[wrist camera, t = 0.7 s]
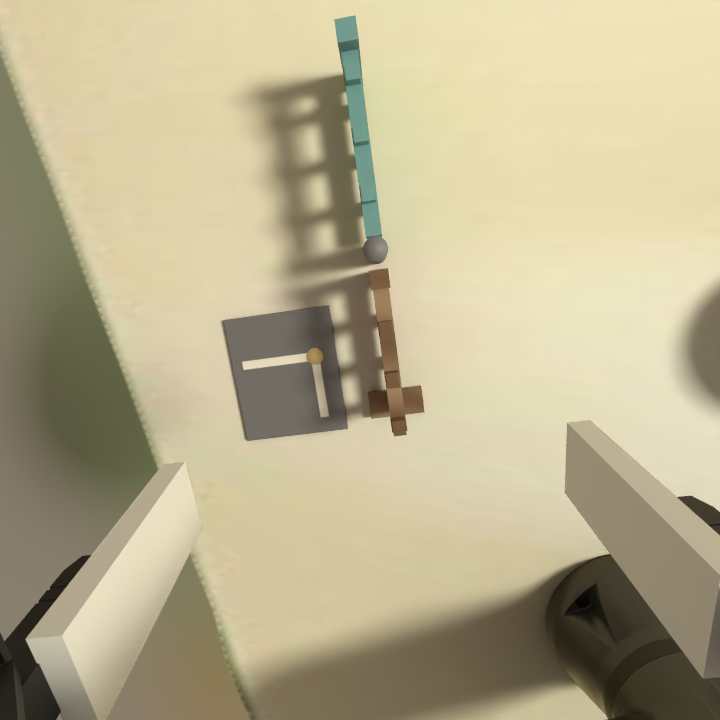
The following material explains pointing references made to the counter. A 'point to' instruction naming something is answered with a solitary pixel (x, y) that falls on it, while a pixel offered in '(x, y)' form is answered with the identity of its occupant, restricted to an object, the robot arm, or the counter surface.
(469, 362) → the counter surface
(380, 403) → the fence
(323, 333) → the card
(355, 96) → the fence
